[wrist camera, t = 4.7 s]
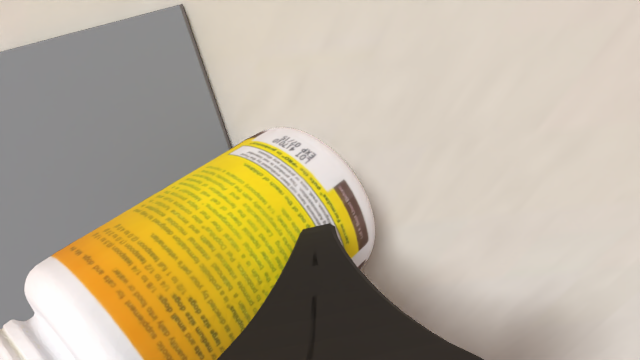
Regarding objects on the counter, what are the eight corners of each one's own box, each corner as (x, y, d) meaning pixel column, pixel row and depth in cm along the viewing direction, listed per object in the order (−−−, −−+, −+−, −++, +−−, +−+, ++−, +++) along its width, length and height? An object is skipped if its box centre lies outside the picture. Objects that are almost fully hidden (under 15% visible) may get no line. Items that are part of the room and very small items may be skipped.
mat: (182, 4, 15) (179, 4, 14) (294, 332, 21) (294, 339, 20) (-205, 105, 16) (-217, 108, 15) (8, 393, 21) (3, 401, 21)
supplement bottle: (258, 89, 15) (-127, 288, 9) (402, 178, 13) (12, 524, 7) (258, 206, 19) (-12, 398, 13) (367, 290, 17) (101, 571, 11)
